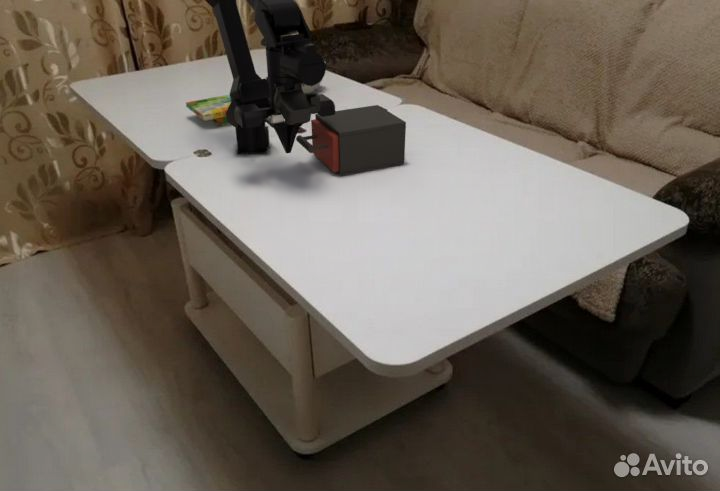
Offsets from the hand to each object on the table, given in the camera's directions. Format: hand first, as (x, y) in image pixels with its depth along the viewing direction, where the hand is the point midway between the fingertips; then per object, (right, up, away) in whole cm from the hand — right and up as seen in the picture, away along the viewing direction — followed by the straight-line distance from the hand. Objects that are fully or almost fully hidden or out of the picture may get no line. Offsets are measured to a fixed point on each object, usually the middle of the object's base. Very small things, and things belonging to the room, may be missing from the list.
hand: (288, 152), depth 118 cm
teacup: (-3, +25, +52) cm, 58 cm away
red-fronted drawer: (+11, 0, +6) cm, 12 cm away
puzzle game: (-17, +14, +32) cm, 39 cm away
